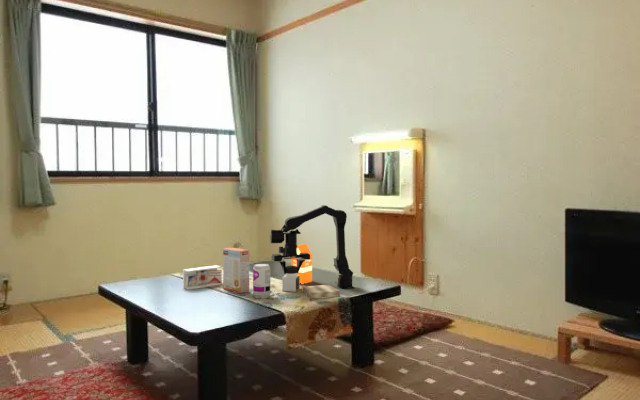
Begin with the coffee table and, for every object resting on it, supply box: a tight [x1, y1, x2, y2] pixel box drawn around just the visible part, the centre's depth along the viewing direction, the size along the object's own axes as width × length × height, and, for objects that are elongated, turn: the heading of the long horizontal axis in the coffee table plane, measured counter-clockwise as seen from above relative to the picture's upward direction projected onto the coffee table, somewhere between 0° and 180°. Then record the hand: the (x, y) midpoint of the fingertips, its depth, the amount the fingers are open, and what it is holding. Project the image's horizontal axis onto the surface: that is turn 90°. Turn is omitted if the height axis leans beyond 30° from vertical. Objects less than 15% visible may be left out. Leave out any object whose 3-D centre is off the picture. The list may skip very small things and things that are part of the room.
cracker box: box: [222, 246, 250, 294], centre depth 245 cm, size 14×6×21 cm, turn 47°
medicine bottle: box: [281, 265, 301, 293], centre depth 247 cm, size 7×7×12 cm
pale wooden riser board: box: [301, 284, 341, 299], centre depth 239 cm, size 14×14×2 cm
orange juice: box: [290, 243, 313, 285], centre depth 266 cm, size 8×9×20 cm
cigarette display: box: [182, 264, 223, 290], centre depth 256 cm, size 20×6×9 cm, turn 130°
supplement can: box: [252, 263, 271, 299], centre depth 234 cm, size 8×8×15 cm
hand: (291, 273), depth 247 cm, fingers closed on medicine bottle, 6 cm apart
